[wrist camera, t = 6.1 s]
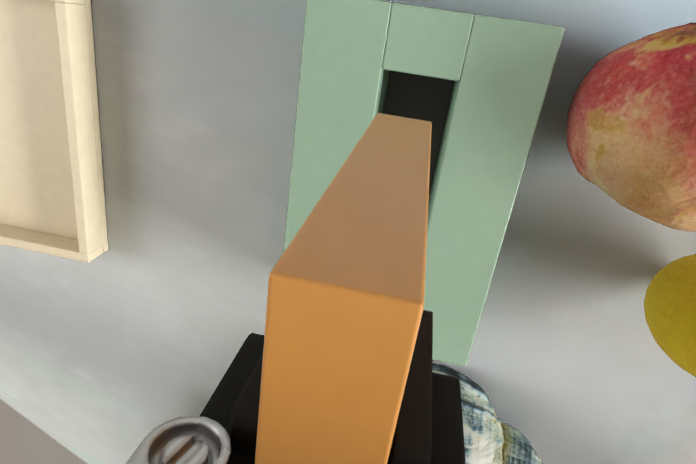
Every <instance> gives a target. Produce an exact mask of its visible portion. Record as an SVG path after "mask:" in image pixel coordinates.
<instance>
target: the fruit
mask: <svg viewBox="0 0 696 464" xmlns="http://www.w3.org/2000/svg"><path fill="white" fill-rule="evenodd" d="M567 147H568V150H569V153H570V156H571V158H572V161H573V163H574V165H575V167H576V169H577V171H578V172H579V173H580V174H581V175H582V176H583V177H584V178H585V179H587V180H588V181H590V182H592V183H594V184H595V185H597V186H598V187H600V188H601V189H602V190H603V191H604V192H605V193H607V194H608V195H609V196H610V197H612V198H613V199H615V200H616V201H617V202H618V203H619V204H620V205H622V206H624V207H626V208H627V209H629V210H631V211H633V212H635V213H637V214H640V215H642V216H644V217H646V218H648V219H650V220H652V221H655V222H657V223H660V224H662V225H665V226H667V227H670V228H673V229H678V230H684V231H696V23H689V24H686V25H682V26H677V27H673V28H669V29H666V30H663V31H660V32H657V33H654V34H651V35H648V36H646V37H643V38H641V39H639V40H637V41H635V42H632V43H629V44H627V45H625V46H623V47H621V48H618V49H616V50H614V51H613V52H611V53H609V54H607V56H606V57H605V58H603V59H601V60H599V61H598V62H597V63H596V64H595V65H594V66H593V68H592V69H591V70H590V71H589V73H588V74H587V75H586V76H585V78H584V79H583V80H582V82H581V83H580V85H579V87H578V89H577V91H576V93H575V95H574V96H573V100H572V103H571V106H570V109H569V113H568V118H567Z"/></svg>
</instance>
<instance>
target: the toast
mask: <svg viewBox="0 0 696 464" xmlns="http://www.w3.org/2000/svg"><path fill="white" fill-rule="evenodd" d="M431 129H432V123H431V122H430V121H424V120H418V119H412V118H406V117H400V116H394V115H388V114H382V113H377V115H376V116H375V118H374V119H373V121H372V122H371V124H370V125H369V127H368V128H367V130H366V131H365V133H364V134H363V136H362V137H361V138H360V140H359V141H358V143H357V144H356V146H355V147H354V149H353V150H352V152H351V153H350V155H349V156H348V158H347V159H346V161H345V162H344V164H343V165H342V167H341V168H340V170H339V171H338V173H337V174H336V176H335V177H334V179H333V180H332V182H331V183H330V185H329V186H328V188H327V189H326V191H325V192H324V194H323V195H322V197H321V198H320V200H319V201H318V203H317V204H316V206H315V207H314V208H313V210H312V211H311V213H310V214H309V216H308V217H307V219H306V220H305V222H304V223H303V225H302V226H301V228H300V229H299V231H298V232H297V234H296V235H295V237H294V238H293V240H292V241H291V243H290V244H289V246H288V247H287V249H286V250H285V252H284V253H283V255H282V256H281V258H280V259H279V261H278V262H277V264H276V265H275V267H274V268H273V270H272V271H271V273H270V274H269V284H268V297H267V310H266V323H265V336H264V349H263V362H262V376H261V389H260V402H259V415H258V428H257V441H256V454H255V464H387V462H388V458H389V453H390V449H391V445H392V441H393V436H394V432H395V428H396V424H397V419H398V415H399V411H400V407H401V402H402V398H403V394H404V390H405V385H406V381H407V377H408V373H409V368H410V364H411V360H412V356H413V352H414V347H415V343H416V339H417V335H418V330H419V326H420V322H421V318H422V313H423V309H424V296H425V272H426V248H427V225H428V201H429V177H430V153H431Z"/></svg>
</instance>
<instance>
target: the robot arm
mask: <svg viewBox="0 0 696 464" xmlns="http://www.w3.org/2000/svg"><path fill="white" fill-rule="evenodd" d="M263 349H264V335H259V334H255V333H251V334H250V335H249V336H248V337H247V338H246V340H245V342H244V343H243V345H242V347H241V348H240V350H239V352H238V353H237V355H236V357H235V358H234V360H233V362H232V363H231V365H230V367H229V368H228V370H227V372H226V373H225V375H224V377H223V378H222V380H221V382H220V383H219V385H218V386H217V388H216V390H215V391H214V393H213V395H212V396H211V398H210V400H209V401H208V403H207V405H206V406H205V408H204V410H203V411H202V413H201V415H200V416H183V417H178V418H175V419H172V420H169V421H166V422H164V423H163V424H161V425H159V426H158V427H156V428H154V429H153V430H152V431H151V432H150V433H149V434H148V435H147V436H146V437H145V438H144V440H143V441H142V442H141V444H140V445H139V446H138V448H137V449H136V450H135V452H134V453H133V454H132V456H131V457H130V458H129V460H128V461H127V462H126V464H255V454H256V441H257V428H258V415H259V402H260V389H261V376H262V362H263ZM432 353H433V312H431V311H426V310H423V313H422V318H421V322H420V326H419V330H418V335H417V339H416V343H415V347H414V352H413V356H412V360H411V364H410V368H409V373H408V377H407V381H406V385H405V390H404V394H403V398H402V402H401V407H400V411H399V415H398V419H397V424H396V428H395V432H394V436H393V441H392V445H391V449H390V453H389V458H388V462H387V464H466V460H465V446H464V431H463V417H462V402H461V388H460V380H459V378H457V377H453V376H448V375H443V374H439V373H434V372H432Z"/></svg>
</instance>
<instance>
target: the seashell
mask: <svg viewBox="0 0 696 464" xmlns="http://www.w3.org/2000/svg"><path fill="white" fill-rule="evenodd" d="M432 372H434V373H439V374H443V375H448V376H453V377H457V378H459V380H460V388H461V402H462V417H463V431H464V446H465V460H466V464H542V463H541V459H540V457H539V456H538V455H537V453H536V452H535V450H534V448H533V447H532V445H531V444H530V442H529V441H528V440H527V439H526V438H525V436H524V435H523V434H522V433H521V432H519V431H518V430H517V429H515V428H513V427H511V426H510V425H507V424H504V423H502V422H501V421H500V420H499V419H498V418H497V417H496V414H495V412H494V410H493V408H492V406H491V404H490V402H489V398H488V396H487V395H486V393H485V391H484V390H483V389H482V388H481V387H480V386H478V385H477V384H476V383H474V382H473V381H472V380H470V379H469V378H468V377H466V376H464V375H463V374H461V373H459V372H457V371H455V370H453V369H450V368H448V367H445V366H442V365H432Z"/></svg>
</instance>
